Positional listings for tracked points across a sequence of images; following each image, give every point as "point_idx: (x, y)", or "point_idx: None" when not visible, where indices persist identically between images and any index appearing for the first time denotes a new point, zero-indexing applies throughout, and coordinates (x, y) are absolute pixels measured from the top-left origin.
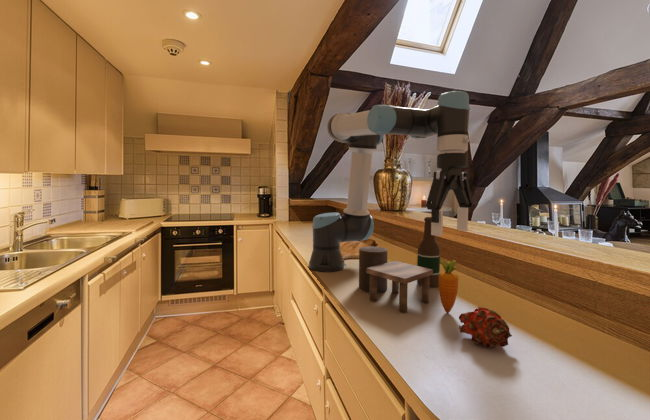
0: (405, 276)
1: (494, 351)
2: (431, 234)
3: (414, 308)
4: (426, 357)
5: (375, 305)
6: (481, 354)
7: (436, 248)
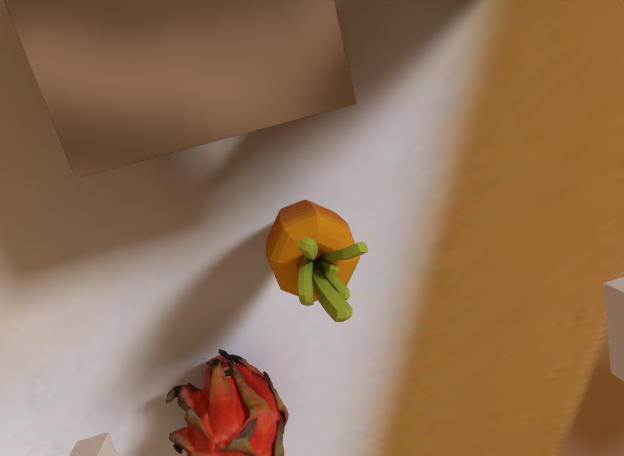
0: (105, 144)
1: None
2: (77, 448)
3: None
4: (27, 400)
5: None
6: None
7: None
